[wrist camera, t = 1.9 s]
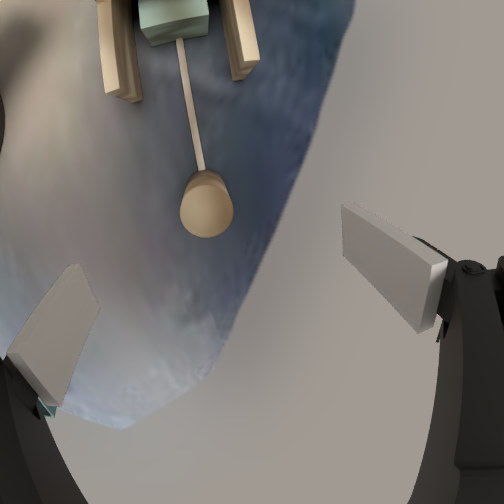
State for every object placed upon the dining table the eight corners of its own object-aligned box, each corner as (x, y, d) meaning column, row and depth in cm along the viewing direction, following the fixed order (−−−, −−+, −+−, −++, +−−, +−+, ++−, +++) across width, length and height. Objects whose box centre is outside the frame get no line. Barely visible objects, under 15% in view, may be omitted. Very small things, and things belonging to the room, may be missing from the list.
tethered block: (182, 210, 31) (174, 245, 22) (147, 4, 20) (127, -37, 11) (236, 199, 31) (250, 229, 22) (201, -7, 20) (202, -53, 11)
